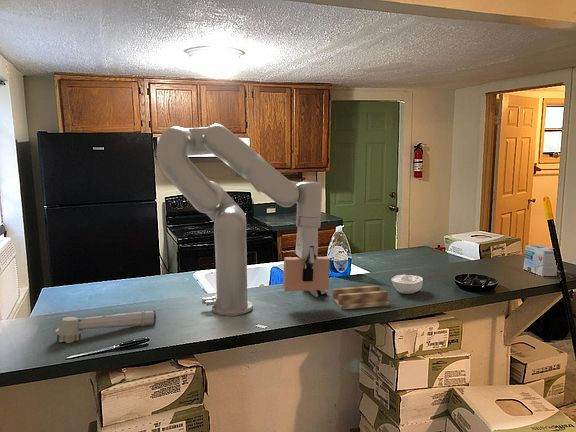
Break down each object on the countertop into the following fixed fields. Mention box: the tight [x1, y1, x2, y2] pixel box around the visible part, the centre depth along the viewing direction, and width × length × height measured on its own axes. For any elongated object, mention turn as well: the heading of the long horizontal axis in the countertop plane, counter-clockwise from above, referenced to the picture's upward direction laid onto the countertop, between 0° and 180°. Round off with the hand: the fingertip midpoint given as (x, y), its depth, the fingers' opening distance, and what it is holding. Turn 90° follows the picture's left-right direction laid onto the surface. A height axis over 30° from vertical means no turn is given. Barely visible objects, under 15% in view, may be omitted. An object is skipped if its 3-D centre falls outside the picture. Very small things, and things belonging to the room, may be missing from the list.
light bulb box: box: [523, 244, 558, 276], centre depth 173 cm, size 11×7×11 cm, turn 10°
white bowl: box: [391, 274, 424, 295], centre depth 151 cm, size 10×12×7 cm
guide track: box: [331, 284, 390, 310], centre depth 141 cm, size 16×10×4 cm, turn 102°
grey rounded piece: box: [307, 290, 330, 298], centre depth 154 cm, size 17×5×10 cm, turn 15°
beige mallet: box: [55, 309, 157, 344], centre depth 118 cm, size 5×7×25 cm
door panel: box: [282, 256, 331, 292], centre depth 136 cm, size 14×3×10 cm, turn 102°
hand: (306, 278), depth 136 cm, fingers closed on door panel, 3 cm apart
